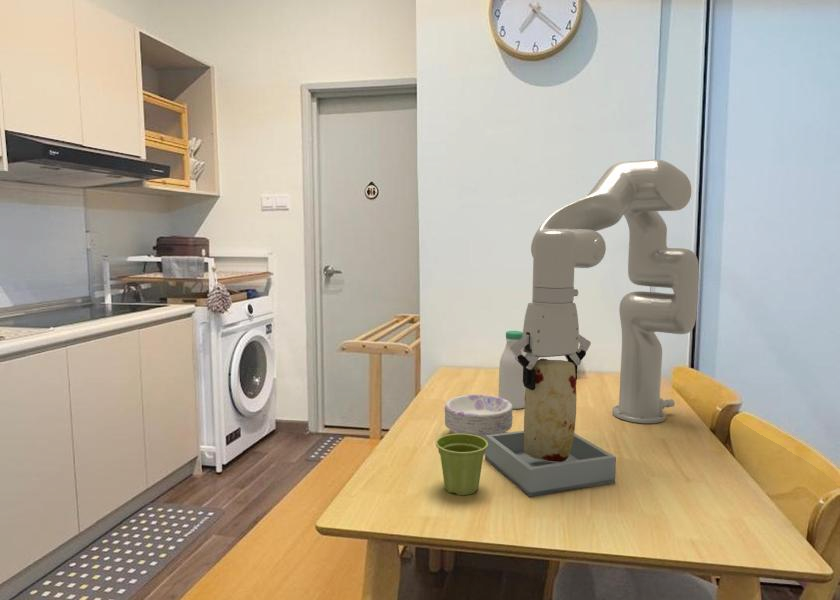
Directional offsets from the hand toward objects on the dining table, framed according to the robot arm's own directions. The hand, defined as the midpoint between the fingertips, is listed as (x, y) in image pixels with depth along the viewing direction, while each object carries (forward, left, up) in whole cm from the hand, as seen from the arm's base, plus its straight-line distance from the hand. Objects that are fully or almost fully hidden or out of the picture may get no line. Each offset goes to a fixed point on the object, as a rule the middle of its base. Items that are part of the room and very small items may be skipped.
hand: (550, 385), depth 110 cm
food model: (0, 0, -15) cm, 15 cm away
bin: (0, 0, -17) cm, 17 cm away
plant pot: (+19, +2, -17) cm, 26 cm away
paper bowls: (+5, -21, -17) cm, 28 cm away
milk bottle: (-14, -40, -17) cm, 46 cm away
